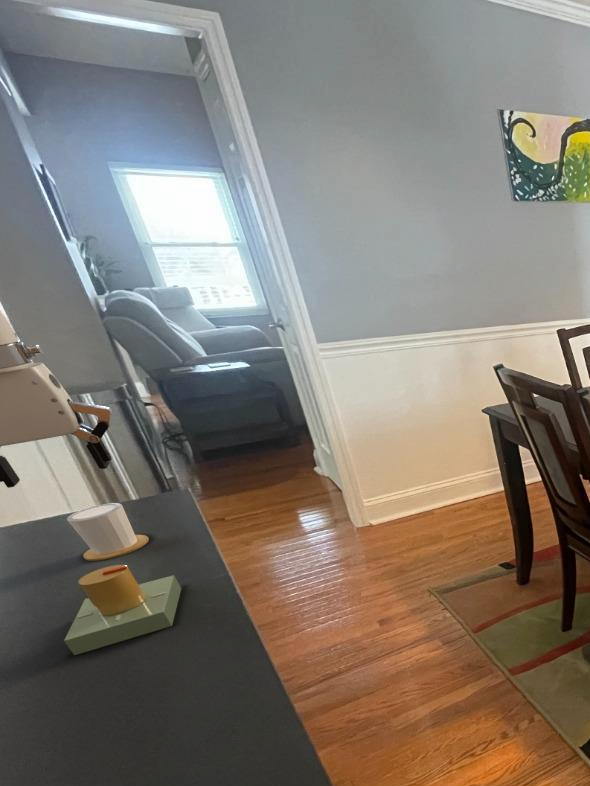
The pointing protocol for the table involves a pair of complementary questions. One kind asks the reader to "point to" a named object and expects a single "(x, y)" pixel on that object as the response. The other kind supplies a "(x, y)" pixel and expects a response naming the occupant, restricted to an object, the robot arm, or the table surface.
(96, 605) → the tap handle
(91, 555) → the coaster
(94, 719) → the table surface
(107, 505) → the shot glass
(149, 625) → the base
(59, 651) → the table surface
